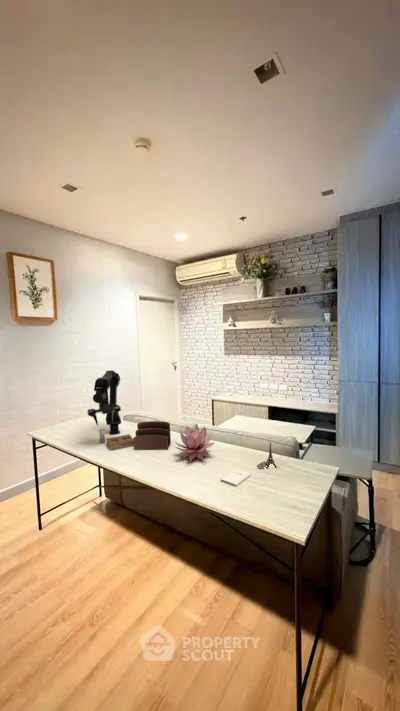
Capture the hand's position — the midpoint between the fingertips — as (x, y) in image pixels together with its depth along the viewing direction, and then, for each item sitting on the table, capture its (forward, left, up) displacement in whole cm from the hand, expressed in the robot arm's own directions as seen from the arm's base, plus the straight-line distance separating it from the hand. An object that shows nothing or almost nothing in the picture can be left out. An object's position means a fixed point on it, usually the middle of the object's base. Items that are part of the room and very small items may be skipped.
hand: (105, 423), depth 181 cm
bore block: (+8, +7, -12) cm, 16 cm away
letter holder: (+21, +23, -13) cm, 33 cm away
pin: (-2, -2, -12) cm, 12 cm away
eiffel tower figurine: (+75, +65, -13) cm, 100 cm away
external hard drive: (+77, +44, -13) cm, 89 cm away
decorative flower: (+46, +38, -12) cm, 61 cm away
